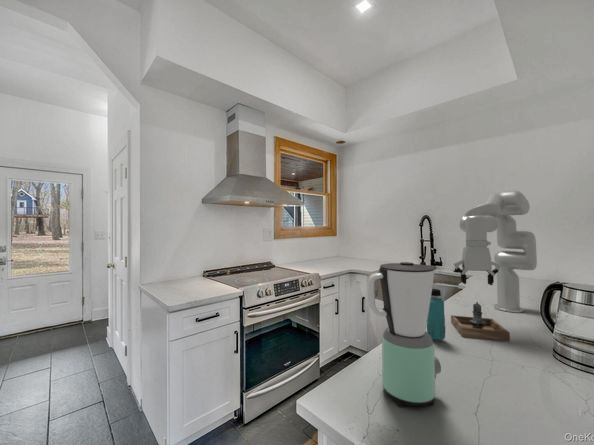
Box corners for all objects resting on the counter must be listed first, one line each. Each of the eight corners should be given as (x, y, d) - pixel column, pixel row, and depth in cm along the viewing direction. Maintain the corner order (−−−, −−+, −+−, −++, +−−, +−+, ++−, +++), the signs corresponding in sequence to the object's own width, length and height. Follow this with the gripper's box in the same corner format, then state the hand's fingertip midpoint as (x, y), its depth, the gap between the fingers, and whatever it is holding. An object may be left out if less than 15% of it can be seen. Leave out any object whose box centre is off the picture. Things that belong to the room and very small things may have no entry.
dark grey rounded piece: (489, 332, 109) (488, 303, 109) (473, 331, 110) (472, 303, 111) (482, 327, 115) (481, 300, 115) (467, 326, 116) (466, 299, 116)
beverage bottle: (449, 343, 100) (448, 291, 101) (431, 343, 101) (430, 291, 101) (440, 336, 107) (439, 287, 107) (423, 336, 107) (422, 287, 108)
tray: (451, 322, 123) (451, 315, 123) (492, 326, 118) (492, 318, 118) (461, 336, 107) (461, 328, 107) (509, 341, 102) (509, 332, 102)
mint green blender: (423, 378, 77) (421, 259, 78) (455, 409, 64) (452, 266, 65) (360, 382, 76) (359, 260, 76) (380, 415, 62) (378, 267, 63)
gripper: (496, 243, 114) (496, 283, 114) (451, 243, 119) (452, 281, 119) (503, 245, 107) (504, 287, 107) (455, 244, 112) (456, 284, 112)
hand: (477, 284), depth 113 cm, fingers open, 9 cm apart
